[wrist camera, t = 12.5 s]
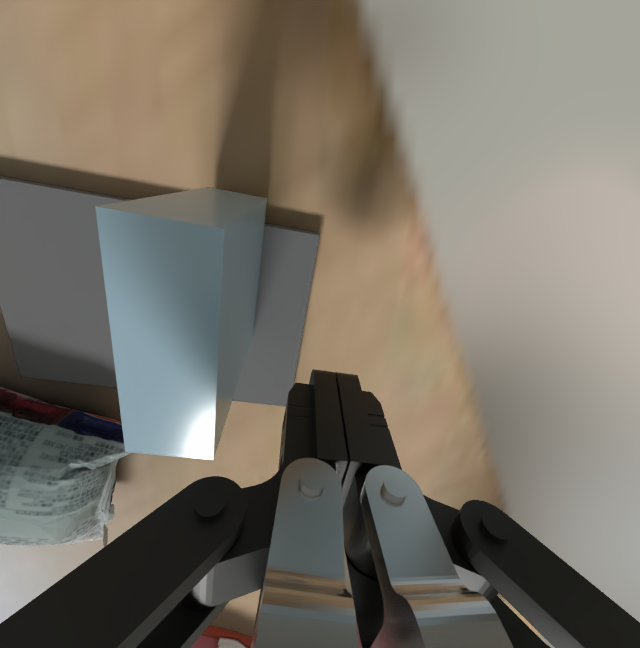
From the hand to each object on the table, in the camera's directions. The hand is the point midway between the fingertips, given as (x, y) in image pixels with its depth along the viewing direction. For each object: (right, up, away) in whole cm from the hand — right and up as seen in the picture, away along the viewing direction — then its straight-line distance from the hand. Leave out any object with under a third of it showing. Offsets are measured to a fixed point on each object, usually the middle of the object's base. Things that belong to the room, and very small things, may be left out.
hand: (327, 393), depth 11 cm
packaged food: (-16, -4, +7) cm, 18 cm away
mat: (-7, +3, +4) cm, 9 cm away
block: (-4, 0, +1) cm, 4 cm away
